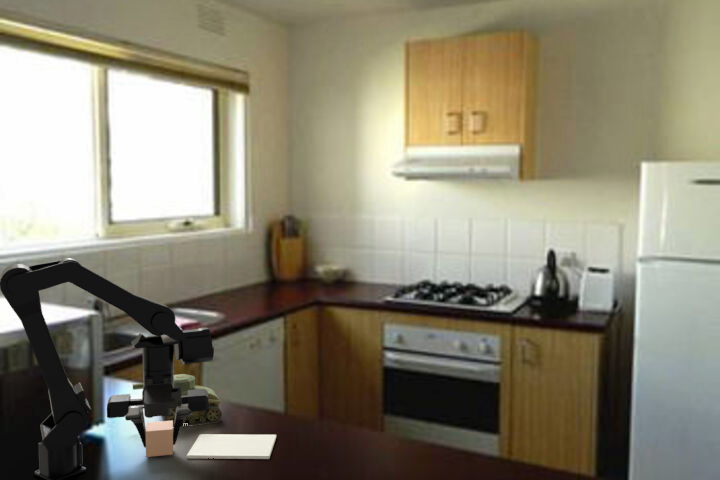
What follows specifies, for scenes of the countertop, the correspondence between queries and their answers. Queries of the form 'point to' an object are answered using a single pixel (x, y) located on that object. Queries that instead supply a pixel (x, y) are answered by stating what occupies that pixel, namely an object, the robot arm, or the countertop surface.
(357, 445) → the countertop surface
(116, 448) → the countertop surface
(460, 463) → the countertop surface
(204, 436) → the board
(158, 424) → the block
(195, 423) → the toy
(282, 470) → the countertop surface
